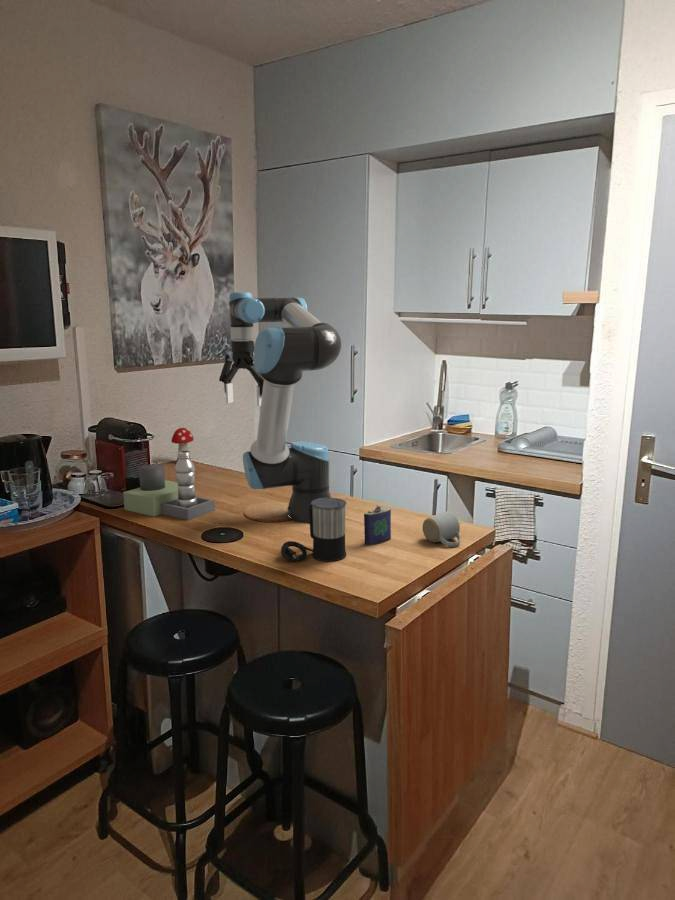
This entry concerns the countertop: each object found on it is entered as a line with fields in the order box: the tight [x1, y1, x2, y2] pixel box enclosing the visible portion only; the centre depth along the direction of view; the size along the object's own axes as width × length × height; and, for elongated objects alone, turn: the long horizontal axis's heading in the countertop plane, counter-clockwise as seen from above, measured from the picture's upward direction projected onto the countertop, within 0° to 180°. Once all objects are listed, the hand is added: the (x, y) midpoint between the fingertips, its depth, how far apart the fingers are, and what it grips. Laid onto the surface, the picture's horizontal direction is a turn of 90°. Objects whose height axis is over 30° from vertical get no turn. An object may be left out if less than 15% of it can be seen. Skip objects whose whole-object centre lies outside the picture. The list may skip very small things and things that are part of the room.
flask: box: [363, 504, 392, 546], centre depth 188 cm, size 9×3×11 cm, turn 127°
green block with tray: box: [122, 463, 216, 521], centre depth 220 cm, size 26×18×13 cm
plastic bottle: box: [174, 450, 198, 508], centre depth 216 cm, size 6×7×20 cm
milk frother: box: [280, 497, 347, 562], centre depth 176 cm, size 14×16×15 cm
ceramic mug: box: [422, 510, 462, 548], centre depth 187 cm, size 11×8×8 cm
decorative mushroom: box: [171, 427, 194, 463], centre depth 285 cm, size 10×9×15 cm
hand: (245, 404), depth 226 cm, fingers open, 13 cm apart
